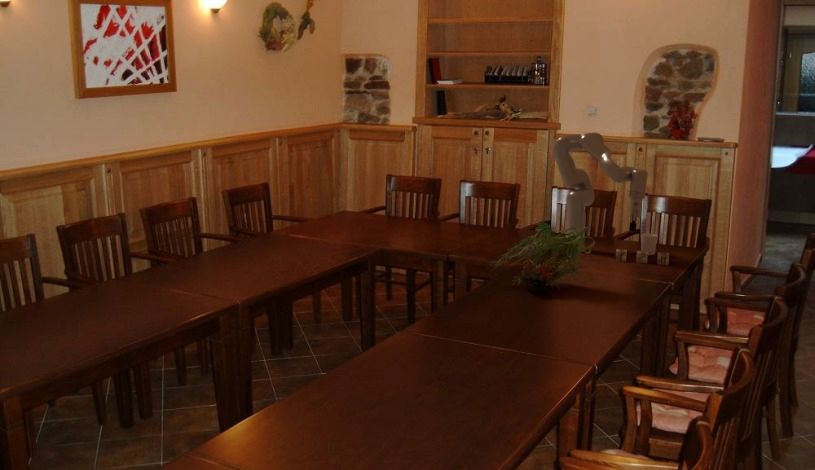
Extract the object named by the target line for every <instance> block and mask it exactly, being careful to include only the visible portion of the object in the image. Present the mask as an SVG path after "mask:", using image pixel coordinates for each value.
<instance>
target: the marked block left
mask: <svg viewBox="0 0 815 470" xmlns="http://www.w3.org/2000/svg"><path fill="white" fill-rule="evenodd" d="M627 251H628V250H627V249H620V248H616V252H615V262H624V261H625V262H627V254H628V253H627Z"/></svg>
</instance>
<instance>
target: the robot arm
mask: <svg viewBox="0 0 815 470" xmlns="http://www.w3.org/2000/svg"><path fill="white" fill-rule="evenodd" d="M604 139H605V138H604V137H603V136H602V134H601V133H600V132H586V133H577V134H575V133H574V134H565V135H562V136H559V137H558V138H557V139H556V140H555V141H554V143H553V147H552V153H553V156H554V160H555V162H556V165H557V167H558V172H559V173H560V178H561V181H562V184H563V185H564V186H565V188H567V189H573V188H574V189H573V190H571V191H569V192H568V194H567V196H566V199H565V202H566V214H567V215H566V229H565V231H566V230H567V229H569V228H571V227H573V228H576V229H577V231H578V234H579V233H580V231H582V230H584V229H585V228H584V227H586V218H587V215H586V209H585V207H588V206H591V205H592V204H593V203H594V201H595V198H596V197H595V191H594V189H593V185H592V182H591V179H590V176H589V174H588V173H587V172H586V170H585V169H582V168H577V167H576V163H575V161H574V159H573V157H572V155H571V154H570V152H577V151H586V153H588V154H589V155H590V156H591V157H592V158H593V159H594V160H595V161H597V162H598V165H599V166H600V168H601V171H602V172H603V173H604V174H605V175H607V177H608V178H609V179H611V181H613V182H615V183H616V184H617V183H618V184H623V183H627V182H630V185H629V191H628V192H629V193H628V197H629V198H630V206H629V218H630V222H629V228H628V230H629V231H628V232H636V231H637V225H638V224H637V220H638V219H641V213H642V205H643V199H645V197H646V189H647V182H648V177H649V176H648V175H649V172H648V171H647V170H646V169H642V168H635V167H633V166H630V165H628V166H621V167H620V166H619V165H618V164H617V163H615V161H614V160H613V159H612V157H611V154H612V150H611V149H610V148H609V147H608V146H607V145H606V144H604V143H605V140H604ZM581 228H582V229H581ZM578 229H579V230H578ZM569 231H573V233H575V231H574V229H570V230H568V231H567V232H565V234H568V233H569V234H571V235H572V233H570V232H569ZM585 234H586V231H585V232H584V234H583V235H582V236H581V238H582V237H585ZM567 236H568V235H566V236H565V238H568V237H567ZM575 236H576V234H575ZM581 240H582V239H581ZM580 245H581V243H580ZM560 246H562V245H560ZM578 246H579V245H578ZM585 247H586V246H585V245H584V246H583V248H585ZM578 251H579V250H578ZM584 251H586V252H587V250H584ZM581 253H583V251H581Z"/></svg>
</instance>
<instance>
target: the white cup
mask: <svg viewBox="0 0 815 470" xmlns="http://www.w3.org/2000/svg"><path fill="white" fill-rule="evenodd" d="M640 237H641V240H640V251H648V256H655V255H656V249H657V240H658V234H654V233H648V232H647V233H641V235H640Z"/></svg>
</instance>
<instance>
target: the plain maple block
mask: <svg viewBox="0 0 815 470" xmlns="http://www.w3.org/2000/svg"><path fill="white" fill-rule="evenodd" d="M648 257H649V255H648V251H641V250H636V263H637V264H640V263H641V264H648Z"/></svg>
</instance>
